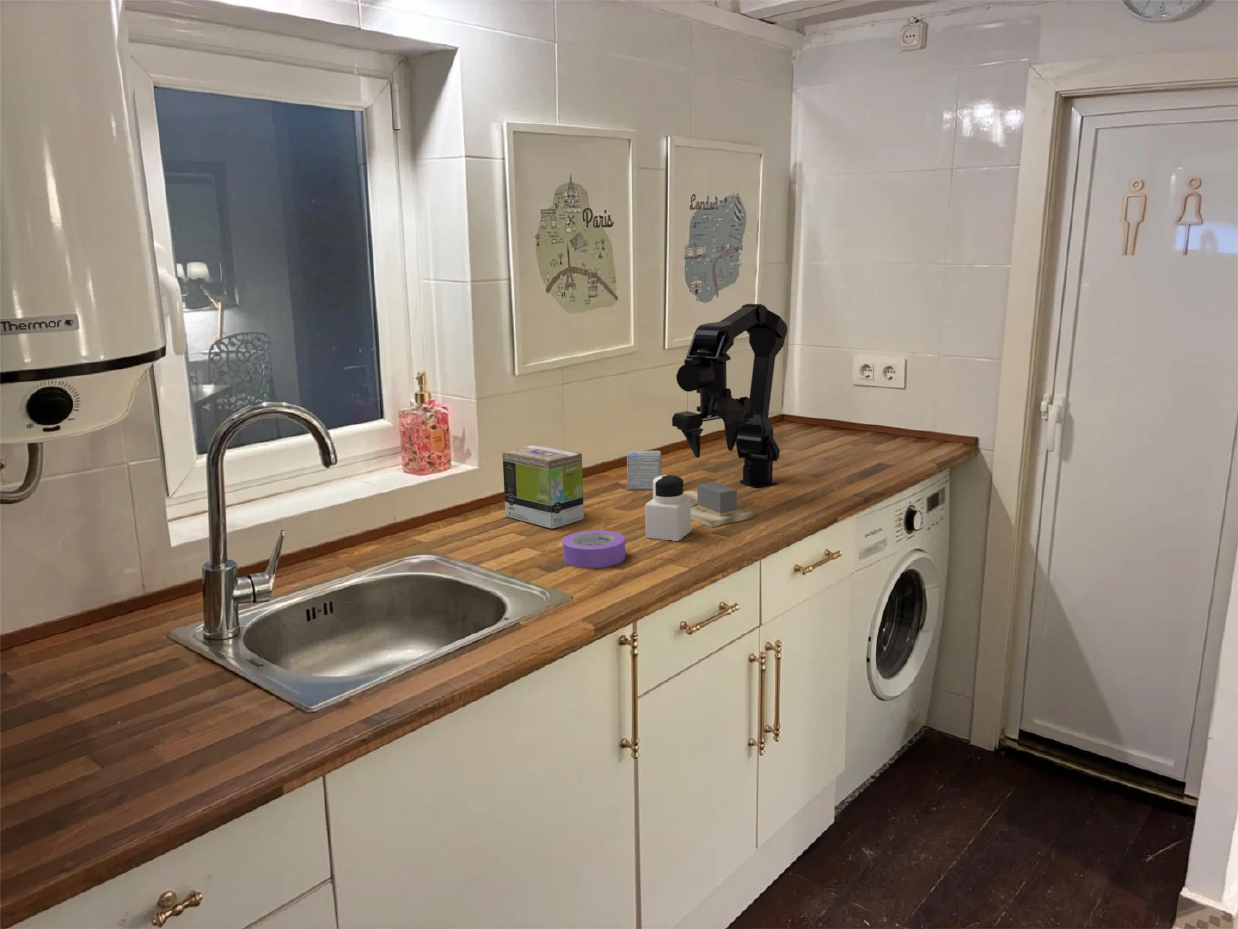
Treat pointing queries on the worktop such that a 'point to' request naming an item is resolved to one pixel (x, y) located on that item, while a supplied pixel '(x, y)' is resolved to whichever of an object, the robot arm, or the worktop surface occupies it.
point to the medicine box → (643, 469)
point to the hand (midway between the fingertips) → (714, 453)
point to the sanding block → (717, 498)
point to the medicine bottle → (668, 510)
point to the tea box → (543, 485)
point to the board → (712, 518)
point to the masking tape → (594, 549)
